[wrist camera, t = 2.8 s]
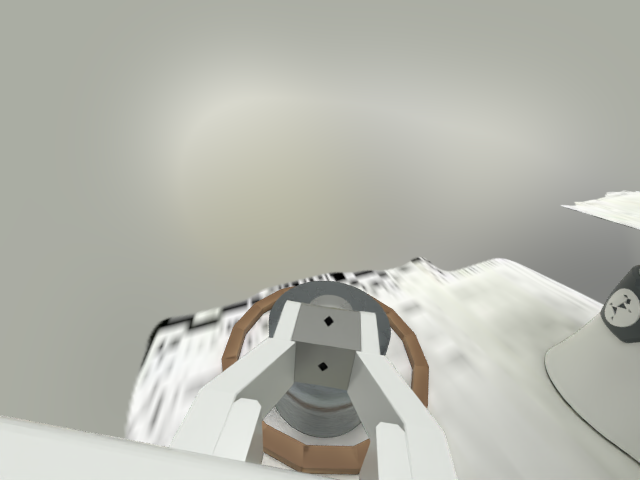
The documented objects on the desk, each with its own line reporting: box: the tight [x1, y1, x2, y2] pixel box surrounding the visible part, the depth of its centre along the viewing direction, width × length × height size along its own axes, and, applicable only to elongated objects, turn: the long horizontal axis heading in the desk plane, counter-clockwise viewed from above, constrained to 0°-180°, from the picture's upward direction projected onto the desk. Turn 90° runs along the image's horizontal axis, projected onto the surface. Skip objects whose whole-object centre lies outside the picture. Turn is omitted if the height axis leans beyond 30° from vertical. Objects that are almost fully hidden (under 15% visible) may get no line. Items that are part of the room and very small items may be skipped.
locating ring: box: [222, 286, 429, 474], centre depth 31 cm, size 23×23×1 cm
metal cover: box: [269, 281, 391, 437], centre depth 25 cm, size 11×11×10 cm
